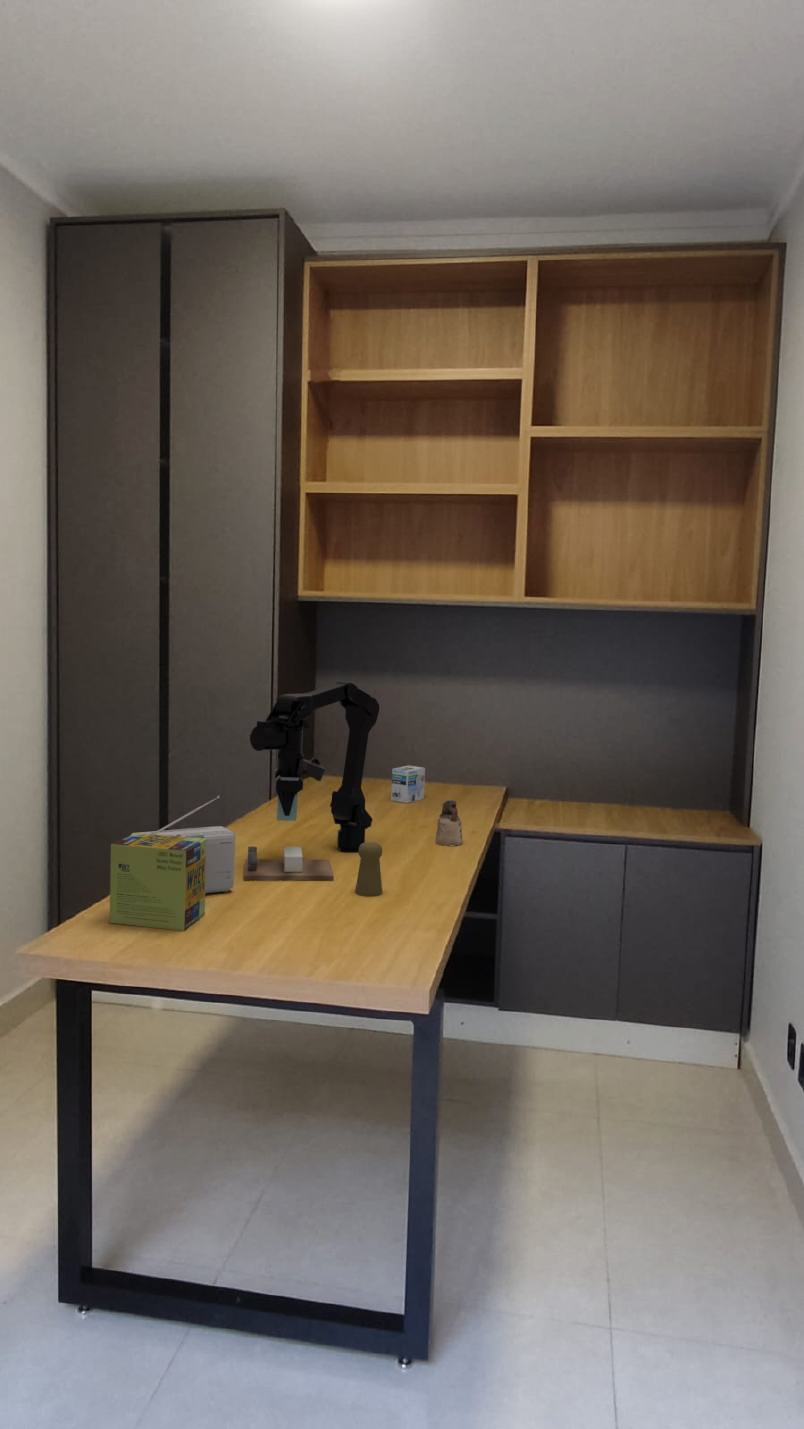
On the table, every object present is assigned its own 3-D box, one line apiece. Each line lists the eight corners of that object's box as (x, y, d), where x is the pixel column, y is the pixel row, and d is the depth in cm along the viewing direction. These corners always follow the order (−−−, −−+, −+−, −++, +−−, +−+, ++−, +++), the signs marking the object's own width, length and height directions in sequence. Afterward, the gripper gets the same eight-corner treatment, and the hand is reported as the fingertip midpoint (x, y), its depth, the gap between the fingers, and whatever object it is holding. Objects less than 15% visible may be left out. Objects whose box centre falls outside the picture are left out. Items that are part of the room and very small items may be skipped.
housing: (300, 861, 224) (300, 846, 224) (302, 871, 216) (302, 856, 215) (283, 861, 224) (283, 846, 223) (284, 871, 215) (284, 856, 215)
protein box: (185, 931, 177) (186, 850, 175) (108, 923, 179) (109, 843, 178) (206, 914, 187) (208, 837, 185) (133, 907, 190) (134, 831, 188)
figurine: (456, 839, 259) (458, 796, 258) (466, 845, 253) (468, 801, 251) (432, 840, 257) (434, 797, 256) (441, 846, 250) (443, 802, 249)
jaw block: (295, 817, 227) (296, 792, 226) (296, 820, 222) (297, 795, 222) (276, 816, 226) (277, 791, 226) (277, 820, 222) (278, 795, 221)
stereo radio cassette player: (137, 905, 191) (138, 807, 189) (126, 893, 198) (128, 800, 196) (235, 893, 202) (237, 801, 200) (222, 883, 209) (224, 794, 207)
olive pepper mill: (384, 896, 204) (386, 846, 203) (356, 896, 203) (358, 846, 202) (380, 888, 210) (382, 839, 209) (353, 888, 209) (355, 839, 208)
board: (328, 864, 228) (329, 843, 228) (333, 880, 214) (334, 858, 214) (244, 864, 225) (245, 842, 224) (244, 880, 211) (244, 857, 211)
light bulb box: (407, 803, 306) (408, 770, 305) (390, 800, 310) (391, 768, 309) (424, 799, 315) (426, 767, 314) (407, 796, 319) (409, 764, 318)
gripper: (326, 755, 215) (323, 822, 216) (321, 744, 233) (318, 807, 235) (277, 753, 213) (274, 821, 215) (276, 743, 232) (273, 805, 233)
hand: (286, 813), depth 224 cm, fingers closed on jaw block, 4 cm apart
